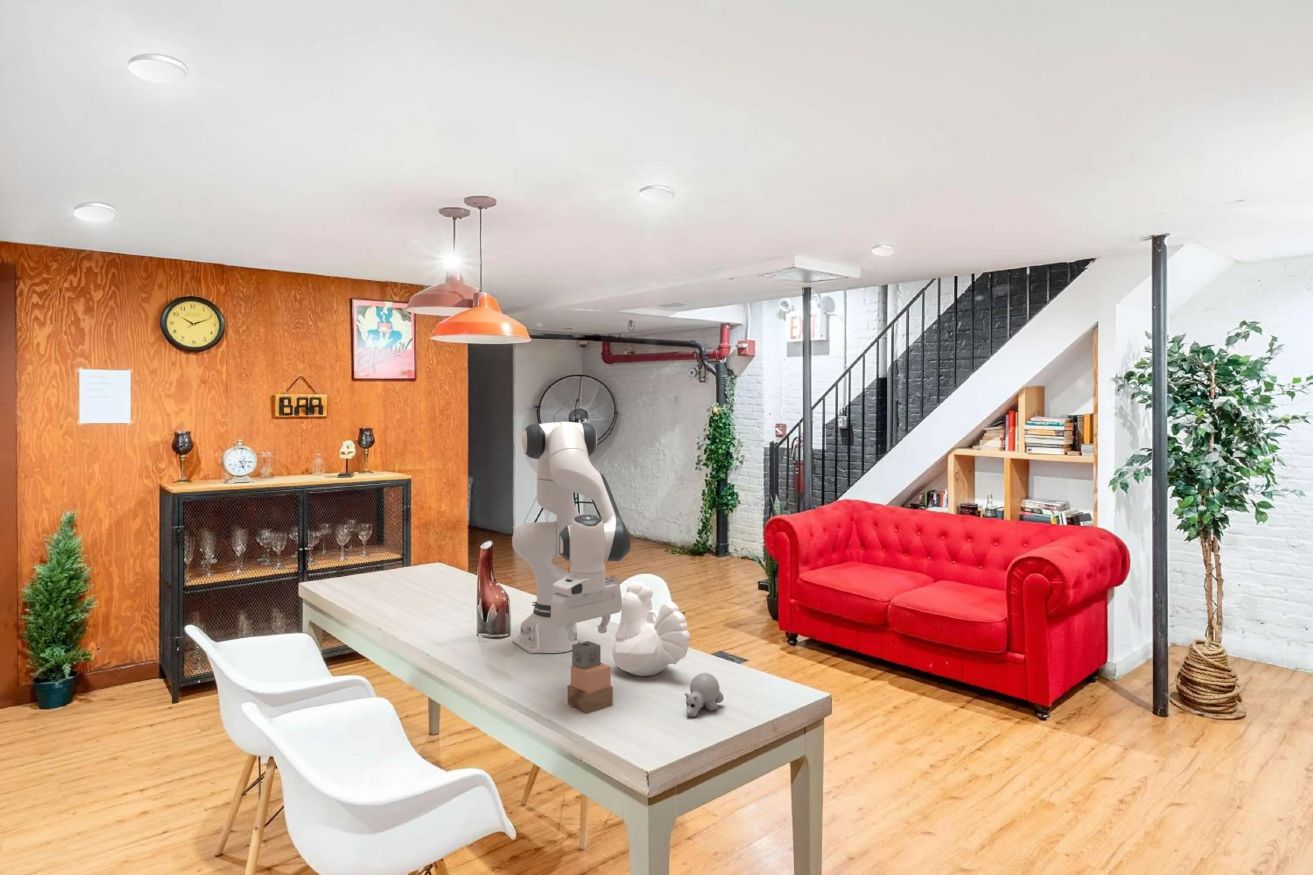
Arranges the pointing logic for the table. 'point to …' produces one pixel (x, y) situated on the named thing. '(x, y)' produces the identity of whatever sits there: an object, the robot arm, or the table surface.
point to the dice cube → (586, 655)
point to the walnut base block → (590, 699)
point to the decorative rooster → (648, 633)
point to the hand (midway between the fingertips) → (587, 636)
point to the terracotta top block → (591, 678)
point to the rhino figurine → (703, 694)
